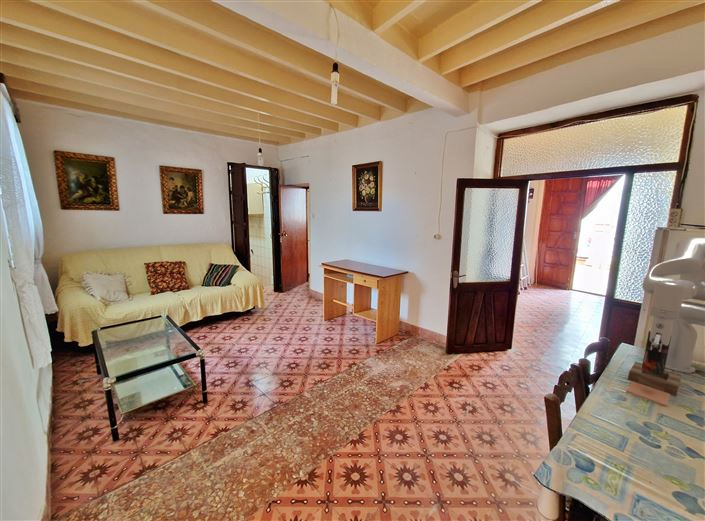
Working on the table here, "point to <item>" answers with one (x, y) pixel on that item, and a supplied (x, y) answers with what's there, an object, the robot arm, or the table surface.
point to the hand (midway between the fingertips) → (655, 357)
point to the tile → (648, 393)
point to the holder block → (655, 379)
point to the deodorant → (654, 365)
